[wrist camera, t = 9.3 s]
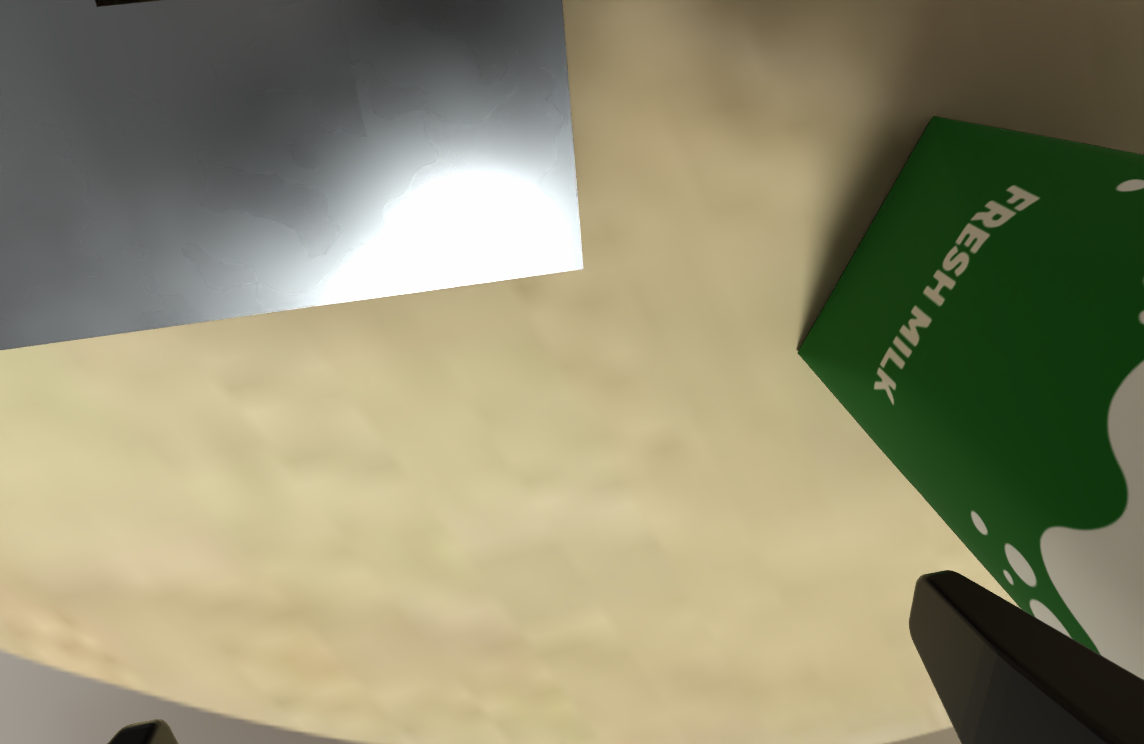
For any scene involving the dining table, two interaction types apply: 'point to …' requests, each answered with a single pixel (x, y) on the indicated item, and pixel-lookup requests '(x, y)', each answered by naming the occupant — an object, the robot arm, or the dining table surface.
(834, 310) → the milk carton
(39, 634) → the dining table surface
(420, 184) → the gray slab with hole
